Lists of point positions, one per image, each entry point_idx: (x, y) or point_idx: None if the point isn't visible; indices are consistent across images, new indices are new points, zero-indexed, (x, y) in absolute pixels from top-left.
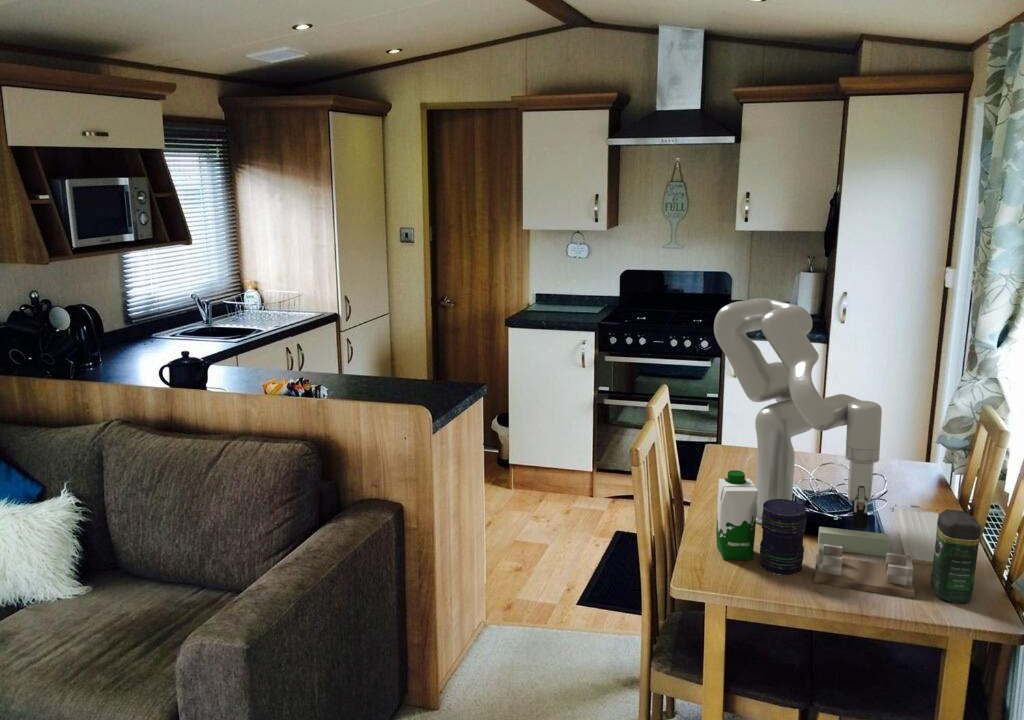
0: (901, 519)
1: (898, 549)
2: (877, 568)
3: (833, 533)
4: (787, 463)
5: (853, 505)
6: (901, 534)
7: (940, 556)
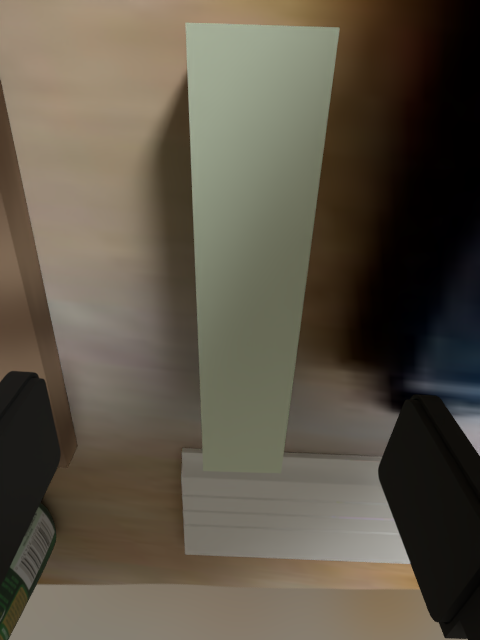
0: None
1: (291, 439)
2: None
3: (201, 171)
4: None
5: (438, 460)
6: None
7: None
